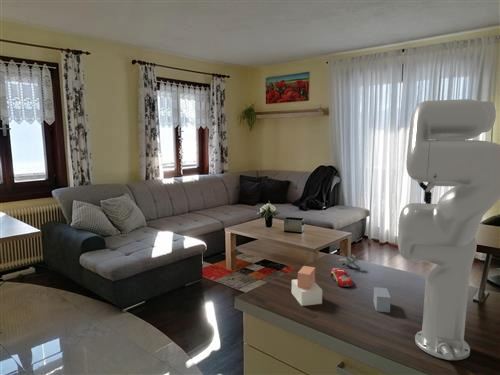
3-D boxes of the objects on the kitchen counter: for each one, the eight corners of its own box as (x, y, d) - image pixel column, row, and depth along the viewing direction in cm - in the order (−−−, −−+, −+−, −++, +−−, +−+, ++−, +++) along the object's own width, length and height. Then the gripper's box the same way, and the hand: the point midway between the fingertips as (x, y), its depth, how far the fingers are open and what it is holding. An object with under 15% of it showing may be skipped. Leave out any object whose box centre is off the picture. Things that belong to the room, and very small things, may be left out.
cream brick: (321, 304, 118) (322, 289, 118) (301, 306, 117) (301, 291, 116) (310, 291, 128) (310, 278, 127) (291, 293, 127) (291, 279, 126)
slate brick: (389, 312, 112) (390, 297, 112) (376, 311, 113) (377, 296, 113) (386, 302, 119) (386, 288, 119) (373, 301, 120) (374, 287, 119)
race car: (354, 288, 131) (354, 278, 130) (339, 289, 130) (339, 278, 130) (343, 274, 144) (343, 265, 143) (329, 275, 143) (329, 265, 143)
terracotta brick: (309, 289, 118) (309, 274, 117) (297, 287, 120) (297, 272, 119) (314, 281, 124) (315, 267, 124) (303, 279, 126) (303, 265, 125)
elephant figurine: (352, 262, 157) (366, 261, 149) (347, 274, 155) (360, 274, 147) (335, 249, 156) (348, 247, 147) (329, 260, 153) (342, 259, 145)
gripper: (476, 147, 110) (471, 203, 112) (415, 147, 113) (411, 201, 115) (487, 148, 102) (482, 208, 105) (421, 148, 106) (417, 206, 108)
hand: (445, 205), depth 110 cm, fingers open, 9 cm apart
